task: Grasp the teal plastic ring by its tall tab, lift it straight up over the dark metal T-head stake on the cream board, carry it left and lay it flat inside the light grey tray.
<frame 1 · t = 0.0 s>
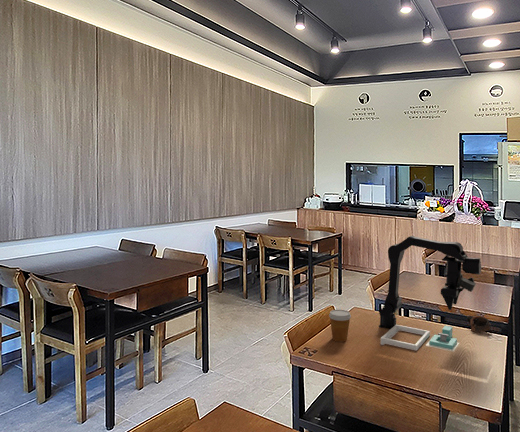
hand: (452, 306, 189), 15 cm above the table, fingers open, 9 cm apart
pottery mug: (477, 331, 201), on the table
disposable coffee cup: (339, 339, 192), on the table
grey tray: (405, 341, 190), on the table
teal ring: (443, 343, 184), point 1 cm above the table, touching stake board
stake board: (442, 346, 184), on the table
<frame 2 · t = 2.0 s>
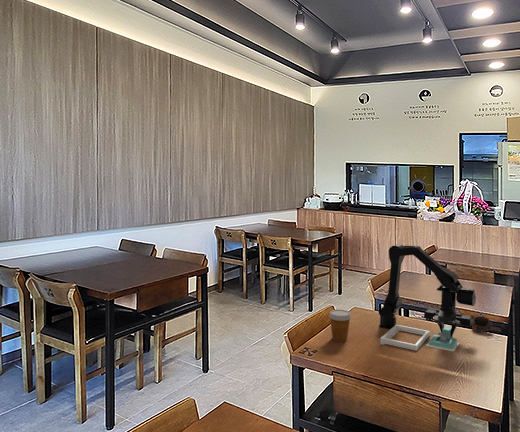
hand: (447, 336, 190), 2 cm above the table, fingers closed on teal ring, 3 cm apart
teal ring: (443, 343, 184), point 1 cm above the table, touching gripper, stake board
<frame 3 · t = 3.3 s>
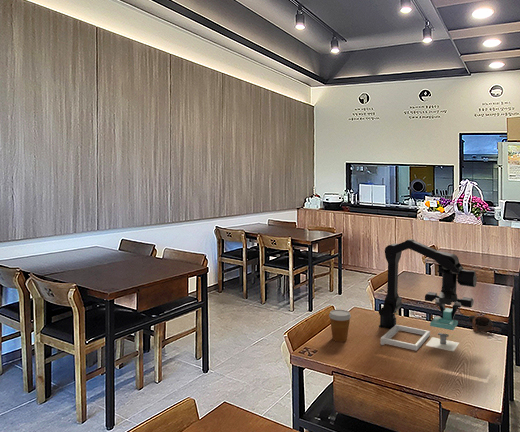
hand: (448, 318, 189), 10 cm above the table, fingers closed on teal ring, 3 cm apart
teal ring: (444, 325, 183), point 9 cm above the table, touching gripper
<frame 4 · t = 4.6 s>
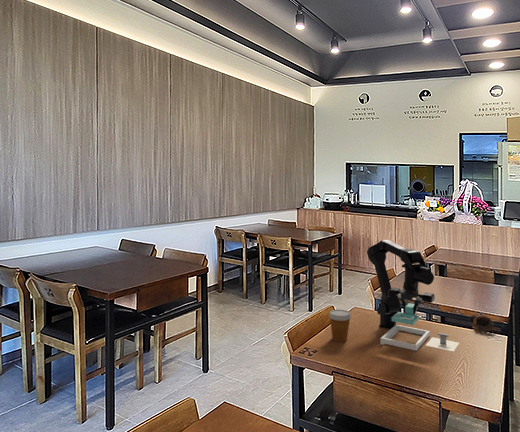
hand: (410, 313, 192), 11 cm above the table, fingers closed on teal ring, 3 cm apart
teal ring: (405, 319, 186), point 10 cm above the table, touching gripper
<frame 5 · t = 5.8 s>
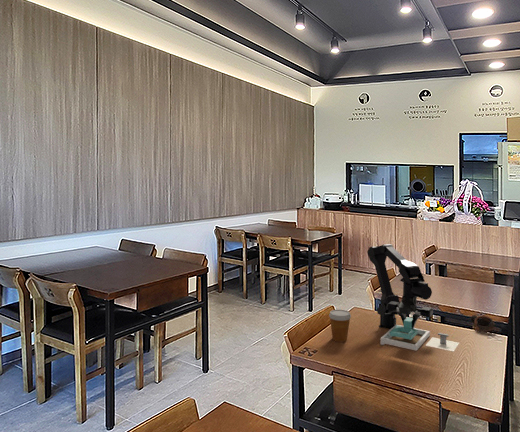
hand: (408, 327, 193), 5 cm above the table, fingers closed on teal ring, 3 cm apart
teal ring: (403, 334, 187), point 4 cm above the table, touching gripper
when the fingers open (2 cm above the table, at t = 6.9 s): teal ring drops 1 cm, resting on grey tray.
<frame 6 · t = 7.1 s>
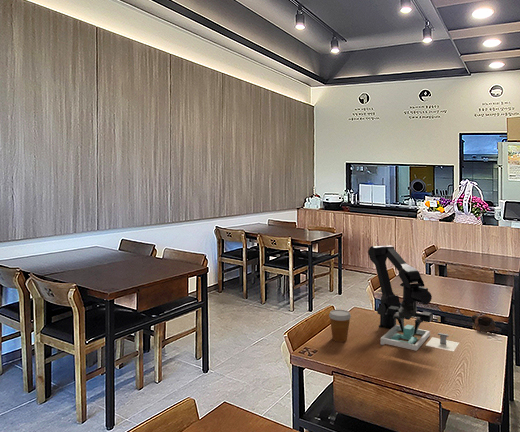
hand: (408, 332, 193), 2 cm above the table, fingers open, 5 cm apart
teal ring: (403, 341, 187), resting on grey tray
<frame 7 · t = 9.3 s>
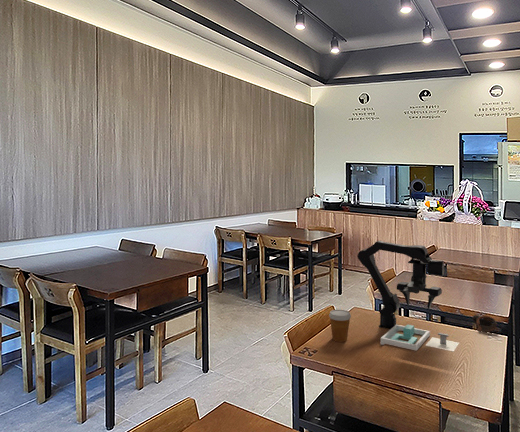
hand: (418, 307, 199), 12 cm above the table, fingers open, 9 cm apart
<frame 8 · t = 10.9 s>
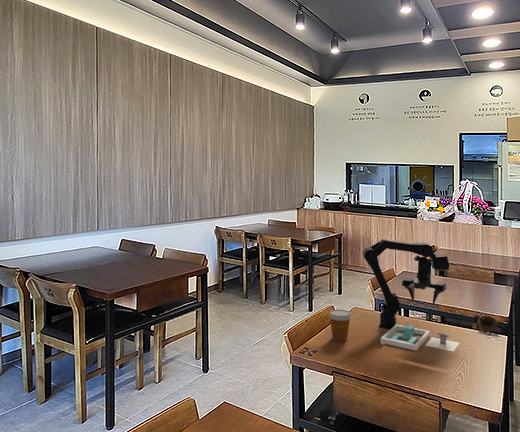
hand: (423, 302, 204), 12 cm above the table, fingers open, 9 cm apart
at the end: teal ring inside the target area on the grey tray (0.2 cm from its centre), point 0.5 cm above the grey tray's base; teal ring tilted 0°; the gripper is holding nothing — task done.
